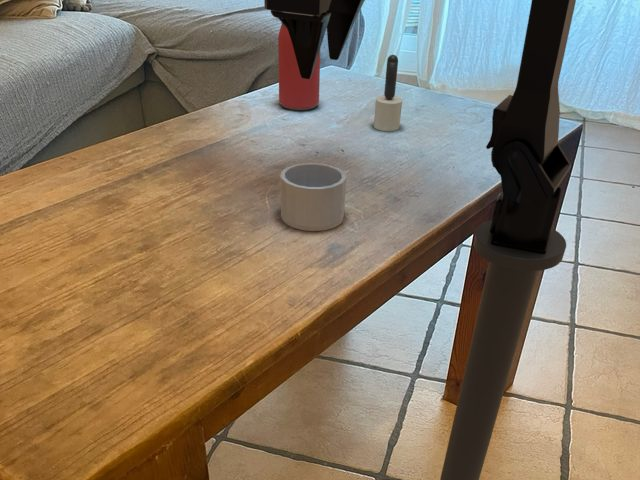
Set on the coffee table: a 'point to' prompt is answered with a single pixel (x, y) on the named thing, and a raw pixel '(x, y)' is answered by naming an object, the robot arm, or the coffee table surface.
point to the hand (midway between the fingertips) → (320, 68)
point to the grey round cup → (312, 196)
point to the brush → (388, 100)
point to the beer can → (295, 77)
